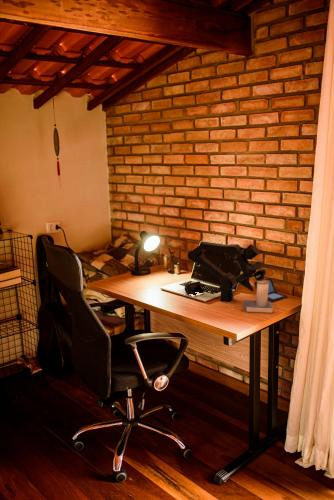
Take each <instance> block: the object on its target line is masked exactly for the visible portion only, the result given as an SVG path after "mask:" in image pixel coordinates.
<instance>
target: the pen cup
mask: <svg viewBox="0 0 334 500" xmlns="http://www.w3.org/2000/svg"><path fill="white" fill-rule="evenodd" d="M268 284H269V281H268V280H257V290H256V299H255V301H256V305H257V306H260V307H266V306H267V300H268Z"/></svg>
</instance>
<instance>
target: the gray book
mask: <svg viewBox="0 0 334 500" xmlns="http://www.w3.org/2000/svg"><path fill="white" fill-rule="evenodd" d="M243 302H244V303H243V307H244V312H245V313H258V314H259V313H260V314H261V313H263V314H273V312H274V307H273V305H272V302H271V301H267V306H266V307H260V306H257V305H256V300H246V299H245V300H244V301H243Z"/></svg>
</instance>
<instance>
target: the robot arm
mask: <svg viewBox="0 0 334 500" xmlns="http://www.w3.org/2000/svg"><path fill="white" fill-rule="evenodd" d="M205 251H209V252H216V253H222V254H225V255H227V256H230V257H233V258H232V263H237V265H238V267H239V272H242V273H240V274H239V275H237V276H236V275H234V274H233V273H232V272H228V273H226V272H224V271H223V270H222V269H220V268H219V267H217V265H215V264H214V263H213V262H211V261H210V260H209V259H207V258H206V256H205V254H204V252H205ZM259 255H260V250H259V248H258V247H256V246H255V245H254V244H252V243H251V244H249V245H248V246H247V247H246V248H245V247H242V246H241V245H240V244H237V243H236V244H235V243H232V244H220V243H212V242H208V241H203V242H201V243H200V244H199V245H197V247H195V248H194V249H192V250H190V251H188V253H187V259H188V260H189V261H191V262H192V263H194V264H198V265H200V266H201V267H203V268H204V269H205V270H206V271H208V272H209V273H211V274H212V276H213V277H216V279H218V280H219V281H220V283H221V284H220V286H219V287H218V288H219V292H220V298H219V302H223V303H224V302H226V303H232V302H233V301H234V299H235V297H234V296H235V292H234V289H235V287H236V286H237V285H242V286H243V287H245V288H246V289H247V290H249V291H250V292H254V288H253V285H252V284H251V281H250V278H254V279H255V282H256V281H257V280H264V279H265V276H266V274H267V271H266V269H265V268H263V266H264V264H263V263H262V261H260V260H259V261H256V263H254V264H253V262H250V261H252V260H253V259H255V258H256V257H257V256H259ZM249 260H250V261H249Z"/></svg>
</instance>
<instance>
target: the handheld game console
mask: <svg viewBox="0 0 334 500" xmlns="http://www.w3.org/2000/svg"><path fill="white" fill-rule="evenodd" d="M264 280H268V281H269V284H268V300H267V301H271V303H275V302H279V301H282V300H284V298H285V299H287V298H288V295H286V294H282V293H280V292H277V289H276V287H275V284H274V281H273V279H272V278H271V277H268V278H264ZM254 287H255V289H256V291H257V281H256V280H255V281H254ZM286 297H287V298H286ZM281 299H282V300H281Z"/></svg>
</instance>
